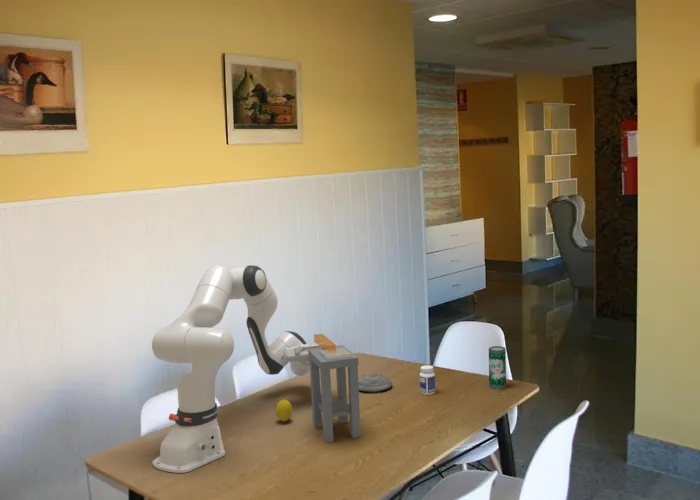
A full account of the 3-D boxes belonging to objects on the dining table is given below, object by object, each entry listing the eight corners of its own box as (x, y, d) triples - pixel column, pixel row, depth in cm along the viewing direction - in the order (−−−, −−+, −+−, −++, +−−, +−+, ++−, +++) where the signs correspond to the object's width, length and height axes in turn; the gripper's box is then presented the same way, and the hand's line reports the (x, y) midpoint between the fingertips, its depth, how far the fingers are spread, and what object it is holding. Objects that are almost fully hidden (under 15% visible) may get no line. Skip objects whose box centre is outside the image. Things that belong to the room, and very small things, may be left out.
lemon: (290, 425, 224) (288, 402, 223) (274, 424, 225) (273, 401, 224) (294, 418, 229) (293, 396, 228) (279, 418, 230) (278, 396, 229)
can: (488, 388, 251) (488, 350, 249) (490, 383, 257) (489, 345, 255) (505, 389, 249) (504, 350, 247) (506, 384, 255) (505, 346, 253)
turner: (351, 357, 208) (351, 350, 208) (326, 360, 206) (326, 353, 206) (329, 339, 231) (329, 332, 231) (307, 342, 229) (306, 335, 228)
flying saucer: (347, 385, 262) (346, 372, 261) (381, 379, 268) (380, 366, 268) (364, 397, 249) (363, 382, 248) (399, 390, 255) (398, 376, 254)
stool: (361, 437, 211) (358, 357, 208) (325, 443, 208) (321, 362, 204) (346, 419, 226) (342, 345, 223) (311, 425, 223) (308, 349, 220)
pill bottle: (435, 390, 252) (434, 364, 251) (435, 395, 247) (434, 369, 245) (419, 390, 253) (419, 364, 252) (420, 395, 247) (419, 369, 246)
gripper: (278, 351, 244) (285, 340, 232) (332, 345, 250) (341, 334, 238) (281, 368, 242) (287, 358, 230) (335, 361, 248) (344, 351, 236)
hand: (315, 345), depth 234 cm, fingers open, 8 cm apart
